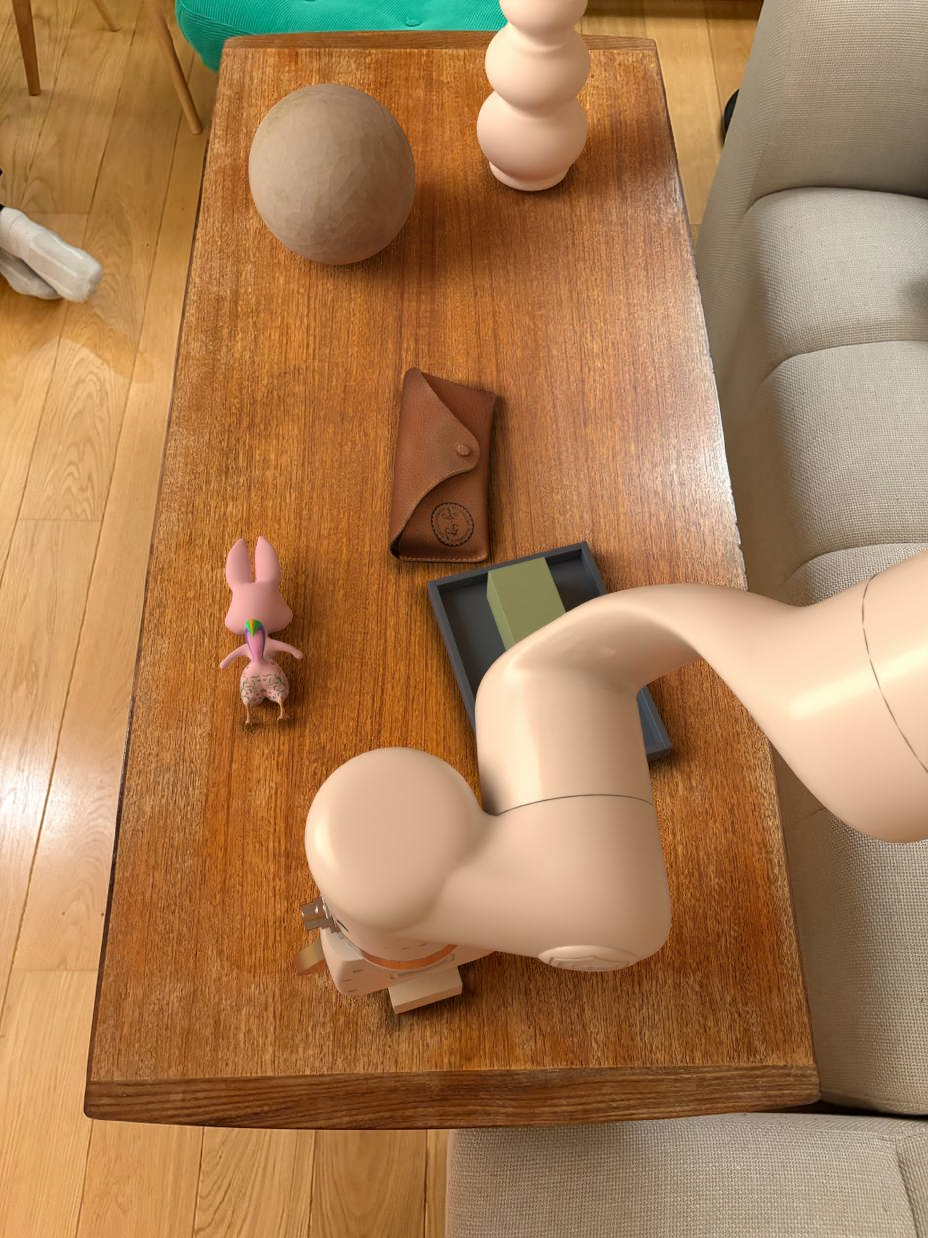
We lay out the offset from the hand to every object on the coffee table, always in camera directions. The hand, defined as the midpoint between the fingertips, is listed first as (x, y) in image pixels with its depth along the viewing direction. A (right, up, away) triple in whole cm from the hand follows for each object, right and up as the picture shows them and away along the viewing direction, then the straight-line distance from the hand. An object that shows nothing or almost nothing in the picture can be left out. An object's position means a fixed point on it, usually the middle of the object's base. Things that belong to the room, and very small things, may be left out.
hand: (414, 950), depth 67 cm
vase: (+10, +68, +36) cm, 78 cm away
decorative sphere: (-9, +59, +31) cm, 67 cm away
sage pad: (+8, +22, +11) cm, 26 cm away
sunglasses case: (+2, +35, +19) cm, 39 cm away
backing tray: (+9, +18, +10) cm, 23 cm away
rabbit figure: (-12, +21, +11) cm, 26 cm away
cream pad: (0, 0, 0) cm, 0 cm away
